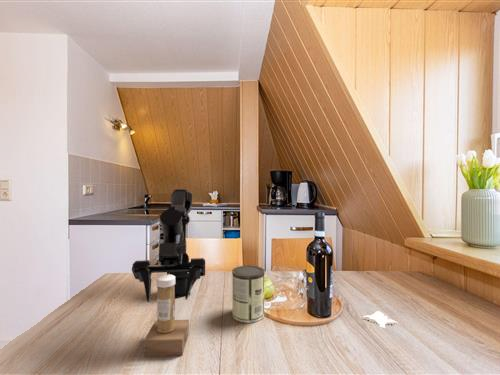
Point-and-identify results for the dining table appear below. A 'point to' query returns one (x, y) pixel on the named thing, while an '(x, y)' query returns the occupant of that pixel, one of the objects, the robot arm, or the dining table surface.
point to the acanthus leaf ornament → (379, 319)
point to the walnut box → (166, 340)
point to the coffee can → (248, 293)
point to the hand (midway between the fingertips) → (167, 300)
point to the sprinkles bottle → (165, 303)
